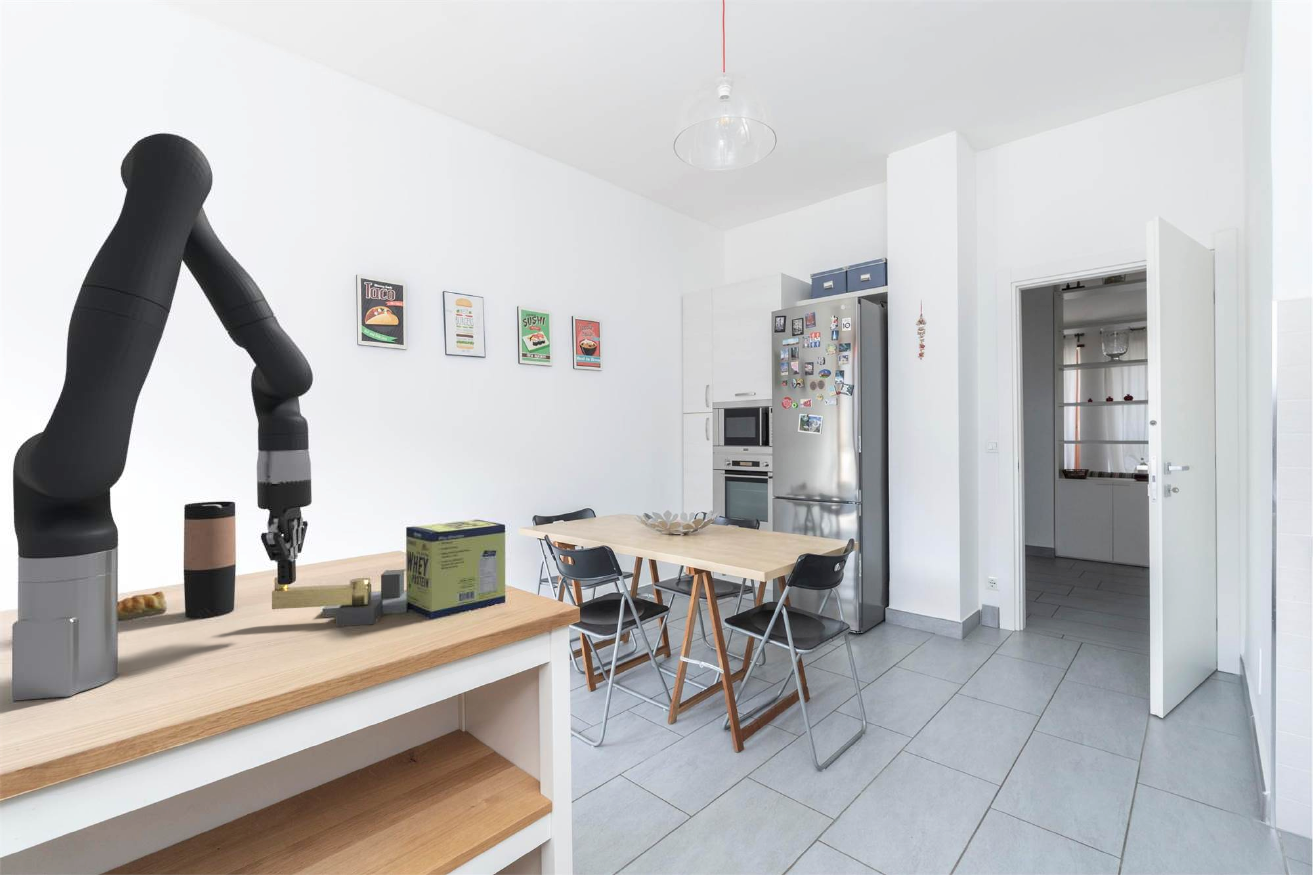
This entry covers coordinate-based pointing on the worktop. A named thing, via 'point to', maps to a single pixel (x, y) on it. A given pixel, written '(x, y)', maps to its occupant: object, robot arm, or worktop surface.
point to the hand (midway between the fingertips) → (286, 583)
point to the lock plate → (374, 602)
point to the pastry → (142, 606)
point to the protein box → (455, 567)
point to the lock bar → (322, 595)
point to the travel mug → (209, 559)
